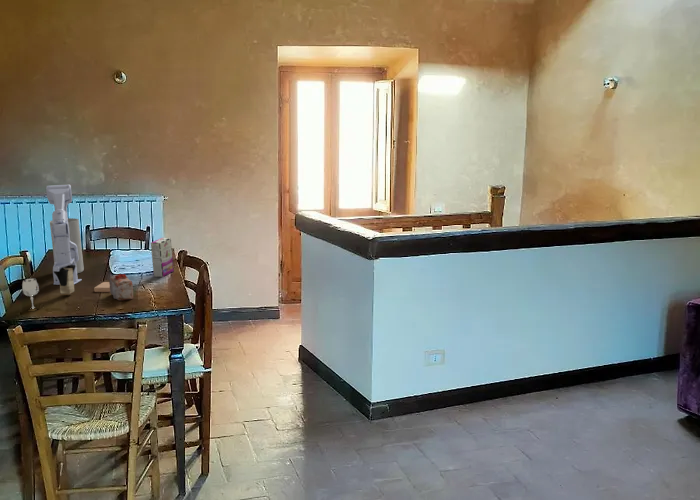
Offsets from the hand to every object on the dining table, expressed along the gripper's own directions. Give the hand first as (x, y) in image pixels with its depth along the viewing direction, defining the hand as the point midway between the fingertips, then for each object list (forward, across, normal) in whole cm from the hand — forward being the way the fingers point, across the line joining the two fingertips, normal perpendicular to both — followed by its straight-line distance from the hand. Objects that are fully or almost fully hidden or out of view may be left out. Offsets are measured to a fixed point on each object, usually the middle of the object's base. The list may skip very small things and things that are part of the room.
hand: (66, 284), depth 276 cm
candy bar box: (+5, -35, +29) cm, 46 cm away
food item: (+5, +2, +24) cm, 25 cm away
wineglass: (+5, +20, -4) cm, 21 cm away
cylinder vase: (+5, -39, -18) cm, 43 cm away
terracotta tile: (+4, -10, +9) cm, 14 cm away
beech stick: (+3, 0, 0) cm, 4 cm away
